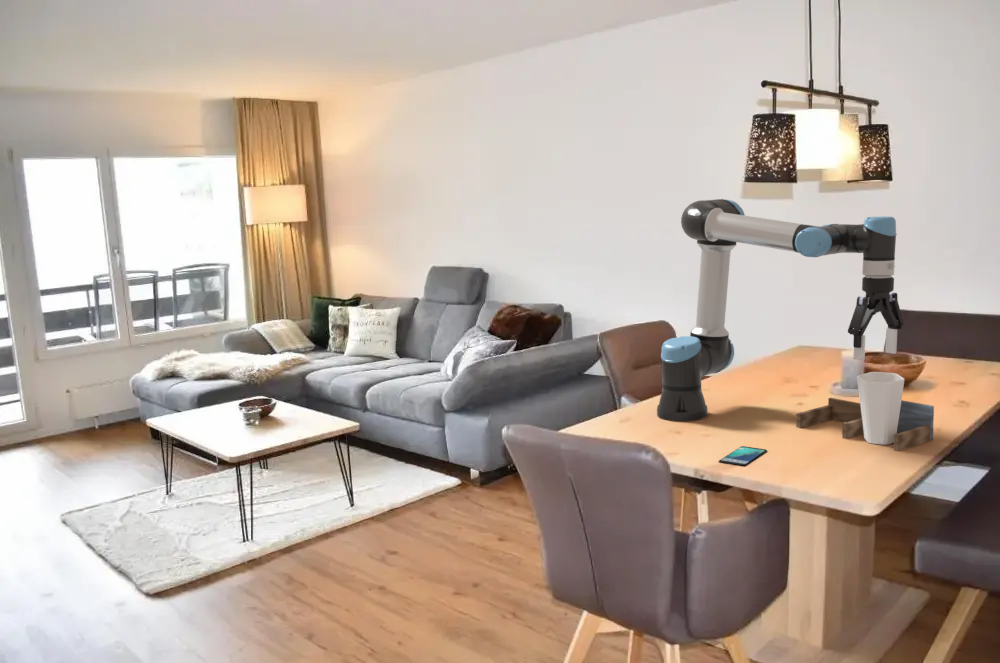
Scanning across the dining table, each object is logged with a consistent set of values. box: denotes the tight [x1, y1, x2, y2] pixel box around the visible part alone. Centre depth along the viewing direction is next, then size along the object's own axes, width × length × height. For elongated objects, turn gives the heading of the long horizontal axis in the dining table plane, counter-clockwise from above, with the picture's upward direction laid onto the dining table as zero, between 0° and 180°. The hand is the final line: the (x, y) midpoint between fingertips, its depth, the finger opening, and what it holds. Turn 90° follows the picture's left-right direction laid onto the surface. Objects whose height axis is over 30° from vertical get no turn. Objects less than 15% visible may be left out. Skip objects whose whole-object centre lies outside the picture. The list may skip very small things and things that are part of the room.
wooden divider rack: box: [795, 397, 935, 452], centre depth 222 cm, size 15×31×9 cm, turn 32°
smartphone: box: [718, 445, 768, 467], centre depth 208 cm, size 7×1×15 cm
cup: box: [856, 371, 905, 446], centre depth 213 cm, size 11×10×17 cm
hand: (875, 356), depth 217 cm, fingers open, 13 cm apart
